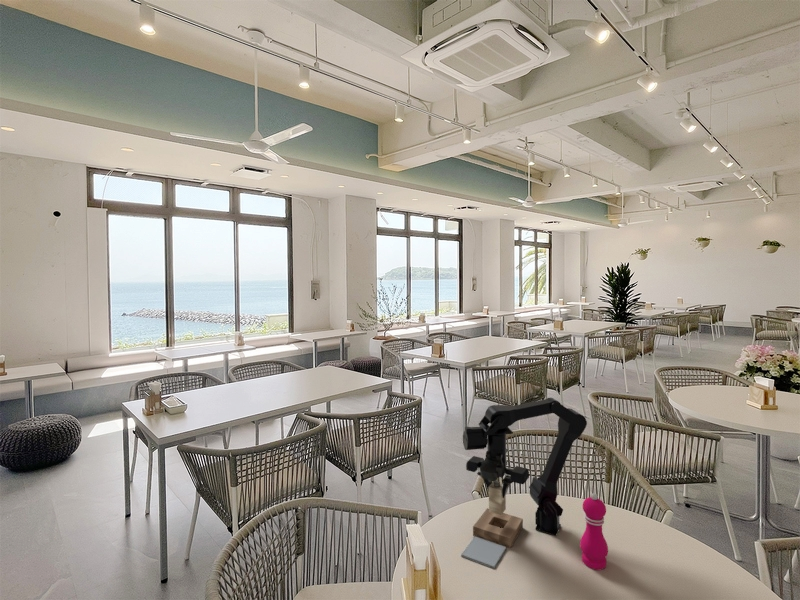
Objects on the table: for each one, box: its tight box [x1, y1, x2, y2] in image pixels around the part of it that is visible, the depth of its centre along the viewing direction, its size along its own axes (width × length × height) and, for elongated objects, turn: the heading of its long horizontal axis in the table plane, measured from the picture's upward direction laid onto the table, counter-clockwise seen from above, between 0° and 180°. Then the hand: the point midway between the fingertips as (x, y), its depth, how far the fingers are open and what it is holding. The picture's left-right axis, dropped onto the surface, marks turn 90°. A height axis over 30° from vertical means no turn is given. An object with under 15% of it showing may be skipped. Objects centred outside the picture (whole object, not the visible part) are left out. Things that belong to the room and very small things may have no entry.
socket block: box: [472, 507, 524, 549], centre depth 136 cm, size 12×12×3 cm
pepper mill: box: [579, 492, 609, 571], centre depth 120 cm, size 7×7×20 cm
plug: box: [488, 480, 507, 515], centre depth 134 cm, size 4×4×9 cm
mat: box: [460, 536, 507, 569], centre depth 126 cm, size 10×10×1 cm
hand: (497, 495), depth 134 cm, fingers closed on plug, 4 cm apart
